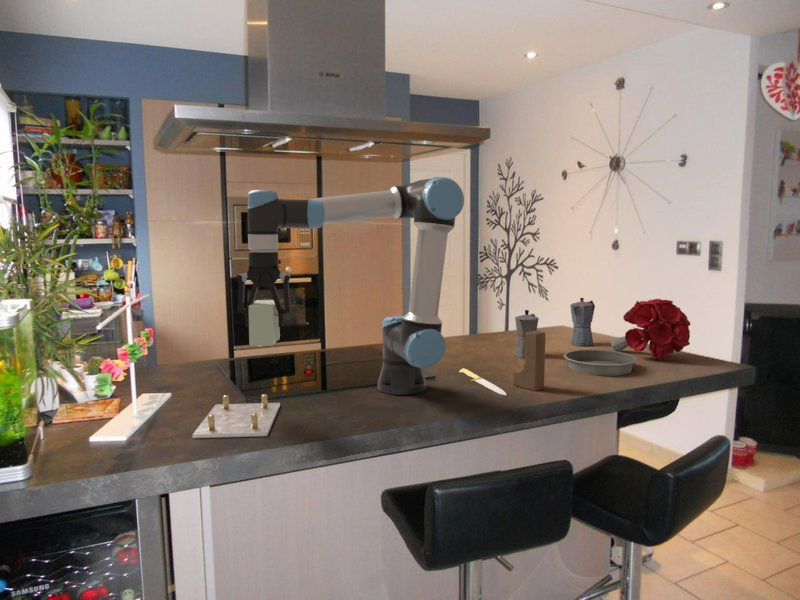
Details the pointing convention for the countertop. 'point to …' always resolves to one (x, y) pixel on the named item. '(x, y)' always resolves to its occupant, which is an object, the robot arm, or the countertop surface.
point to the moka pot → (582, 322)
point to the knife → (483, 381)
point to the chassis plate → (238, 420)
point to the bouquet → (655, 328)
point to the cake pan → (600, 362)
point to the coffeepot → (524, 331)
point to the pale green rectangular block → (262, 323)
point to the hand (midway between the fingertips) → (264, 339)
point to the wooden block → (532, 363)
